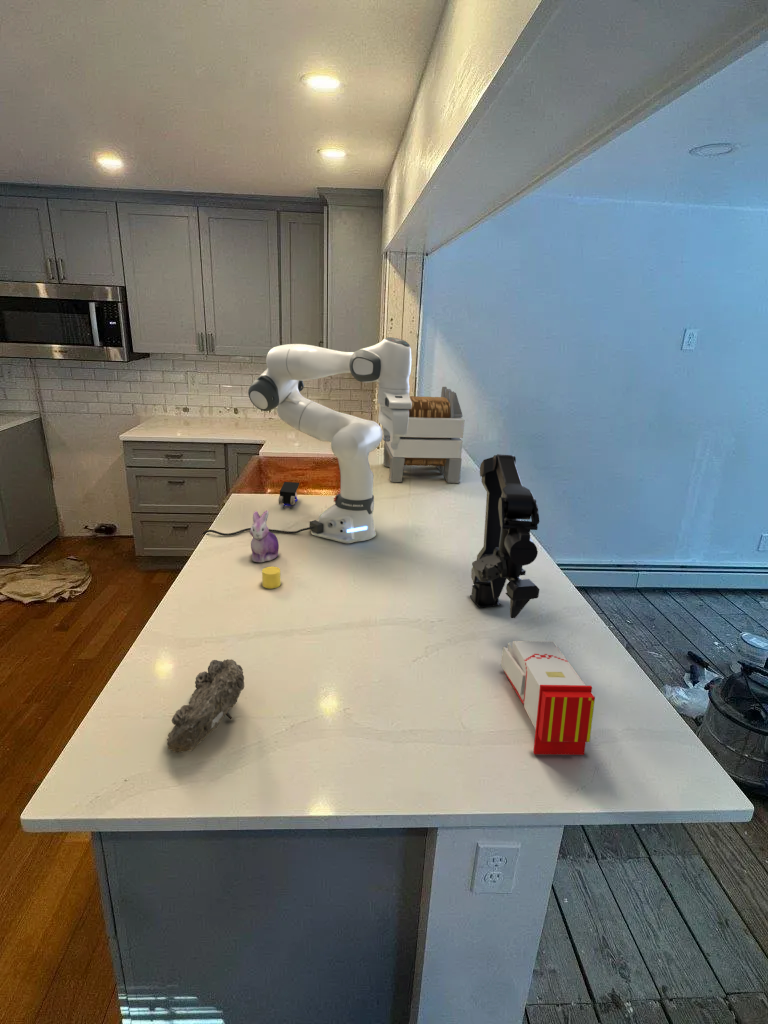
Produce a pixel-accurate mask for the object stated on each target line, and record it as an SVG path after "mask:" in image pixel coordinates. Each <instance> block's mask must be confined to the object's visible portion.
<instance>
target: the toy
mask: <svg viewBox="0 0 768 1024" xmlns="http://www.w3.org/2000/svg"><path fill="white" fill-rule="evenodd" d="M500 666H501V668H502V669H503V672H504V674H505V676H506V678H507V679H508V681H509V683H510V685H511V686H512V688H513V690H514V691H515V693H516V695H517V697H518V698H519V701H520V702H521V703H522V705H523V707H524V710H525V712H526V714H527V716H528V718H529V720H530V722H531V724H532V725H533V728H534V730H535V731H534V743H533V755H566V756H567V755H569V756H570V755H571V756H572V755H573V756H584V755H585V752H586V751H585V750H586V743H590V741H591V734H592V732H591V731H592V725H593V716H594V710H595V709H594V708H595V699H596V697H595V696H594V694H593V693H592V692H593V687H592V685H587V684H585V681H583V679H581V677H580V676H579V674H578V673H577V672H576V670H575V669H574V667H573V666H572V664H570V662H569V660H568V659H567V658H566V656H564V654H563V653H562V651H561V650H560V648H559V646H557V645H556V643H555V642H554V641H545V640H544V641H543V640H542V641H540V640H537V641H536V640H512V641H509V642H507V647H506V646H503V647H502V653H501V660H500Z"/></svg>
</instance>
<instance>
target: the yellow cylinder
mask: <svg viewBox="0 0 768 1024" xmlns="http://www.w3.org/2000/svg"><path fill="white" fill-rule="evenodd" d="M261 582H262V583H261V584H262V587H263V588H265V589H270V590H271V589H272V590H273V589H277V588H279V587H281V584H282V583H281V568H279V567H278V566H266V567H264V568H262V569H261Z"/></svg>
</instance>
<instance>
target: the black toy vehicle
mask: <svg viewBox="0 0 768 1024" xmlns="http://www.w3.org/2000/svg"><path fill="white" fill-rule="evenodd" d="M299 486H300V482H296V481H295V482H294V481H293V482H292V481H284V482H283V484H282V486H281V488H280V490H279V496H278V505H279V506H282V509H285V508H286V507H289V509H290V510H291V509H292V508H293V506H294V505H296V502H298V501H299V500H298V492H297V490H298V489H299Z"/></svg>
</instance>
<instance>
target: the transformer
mask: <svg viewBox="0 0 768 1024" xmlns="http://www.w3.org/2000/svg"><path fill="white" fill-rule="evenodd" d="M440 393H441V394H440V396H415V395H414V396H413V395H412V396H411V395H409V397H410V400H411V402H412V407H411V409H408V410H409V420H408V427H407V432H406V435H405V436H404V437H400V440H399V443H398V449H397V450H393V449H392V448H391V442H392V434H391V433H390V441H389V442H385V441H384V442H383V466H384V467H388V468H389V475H388V476H389V477H388V478H389V480H390V482H391V483H402V482H403V475H404V469H405V466H406V467H407V466H411V467H412V466H413V467H415V466H416V467H417V466H418V467H436V468H437V470H438V469H439V473H440V474H441V475H443V478H444V479H445V481H446V482H447V483H449V484H455V483H456V484H459V483H461V472H462V461H463V460H462V453H463V442H464V441H463V440H462V439H463V438H464V431H465V430H464V429H465V419H464V418H463V411H462V408H461V405H460V402H459V398H458V395H457V392H455V391H453V390H452V389H451V388H447V386H442V387H441V392H440Z"/></svg>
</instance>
